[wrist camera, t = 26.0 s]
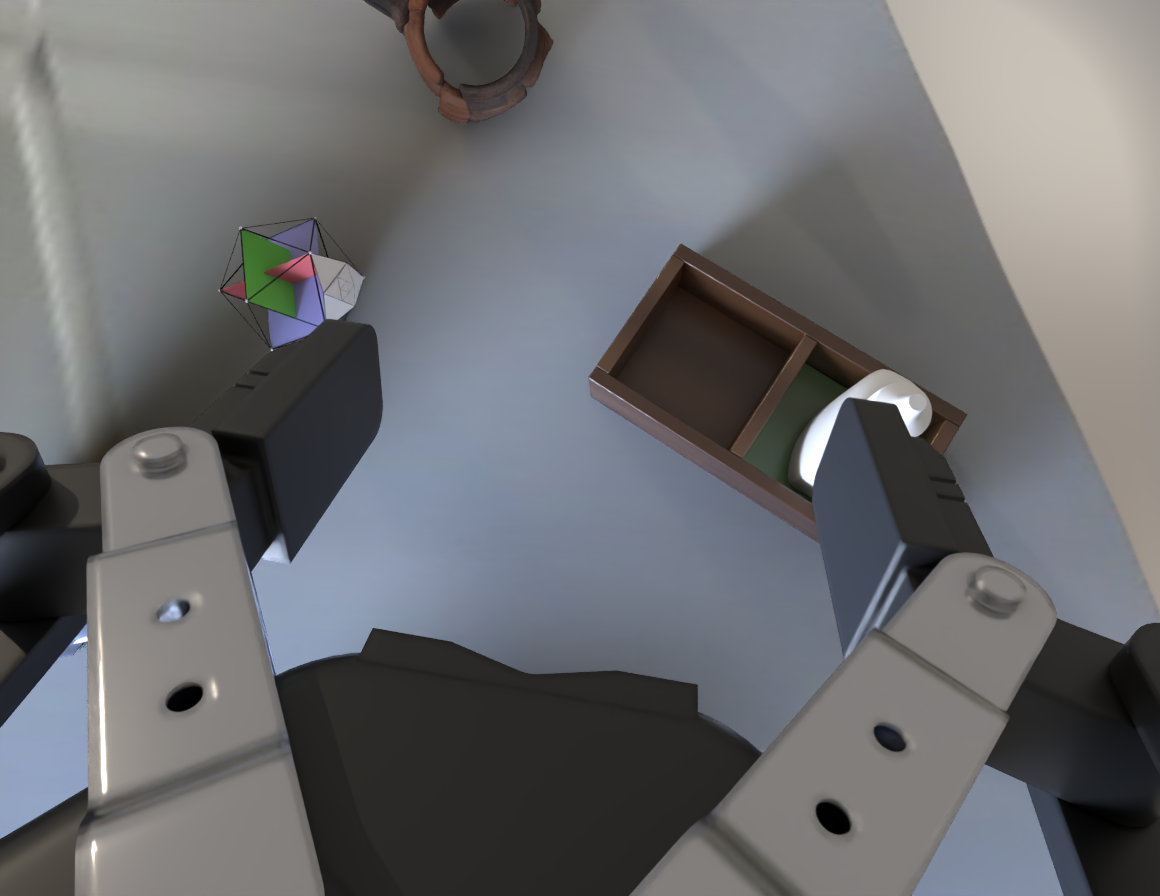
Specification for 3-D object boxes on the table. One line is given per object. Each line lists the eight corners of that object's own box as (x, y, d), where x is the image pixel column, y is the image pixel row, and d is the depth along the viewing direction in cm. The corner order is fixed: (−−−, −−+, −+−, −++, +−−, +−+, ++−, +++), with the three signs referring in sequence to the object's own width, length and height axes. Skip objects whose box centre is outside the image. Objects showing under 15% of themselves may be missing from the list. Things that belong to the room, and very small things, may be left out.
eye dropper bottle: (889, 460, 39) (1011, 414, 27) (803, 510, 39) (888, 486, 27) (846, 394, 40) (946, 321, 28) (761, 443, 39) (825, 390, 27)
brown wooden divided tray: (850, 563, 39) (877, 563, 35) (590, 396, 41) (587, 377, 37) (932, 429, 40) (968, 414, 36) (674, 273, 42) (680, 242, 38)
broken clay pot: (564, 1, 46) (573, -37, 38) (526, 150, 49) (527, 142, 41) (382, -67, 44) (352, -122, 36) (353, 92, 47) (321, 73, 39)
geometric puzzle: (216, 362, 40) (239, 307, 34) (208, 251, 41) (229, 179, 35) (342, 366, 44) (384, 318, 38) (332, 266, 46) (370, 204, 39)
